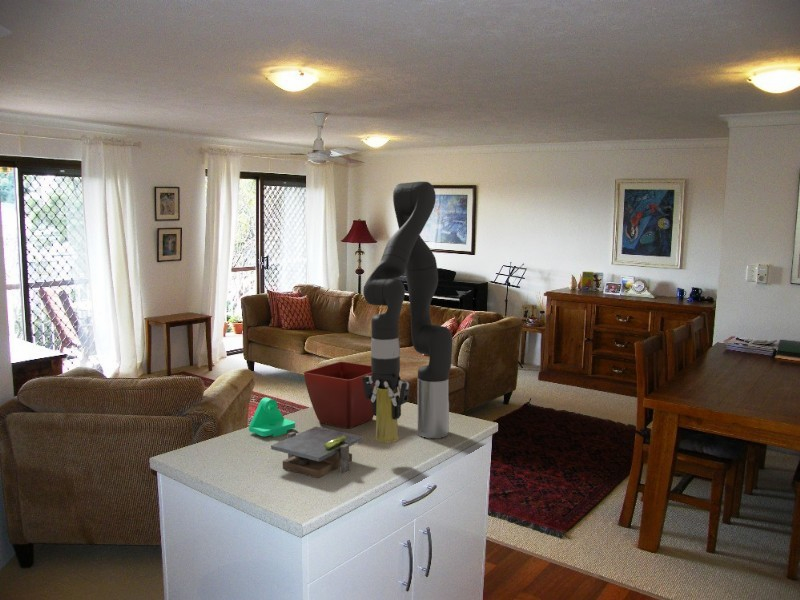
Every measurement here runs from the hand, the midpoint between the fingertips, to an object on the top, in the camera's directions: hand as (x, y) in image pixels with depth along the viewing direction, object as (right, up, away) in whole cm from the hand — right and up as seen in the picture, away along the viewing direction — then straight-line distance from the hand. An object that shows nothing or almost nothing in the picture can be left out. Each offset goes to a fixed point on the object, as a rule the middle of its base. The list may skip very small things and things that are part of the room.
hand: (386, 416), depth 175 cm
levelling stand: (-18, -13, 0) cm, 22 cm away
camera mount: (-35, -10, +26) cm, 45 cm away
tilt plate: (-18, -7, -1) cm, 19 cm away
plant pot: (-14, -8, +37) cm, 41 cm away
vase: (0, -6, +1) cm, 6 cm away
